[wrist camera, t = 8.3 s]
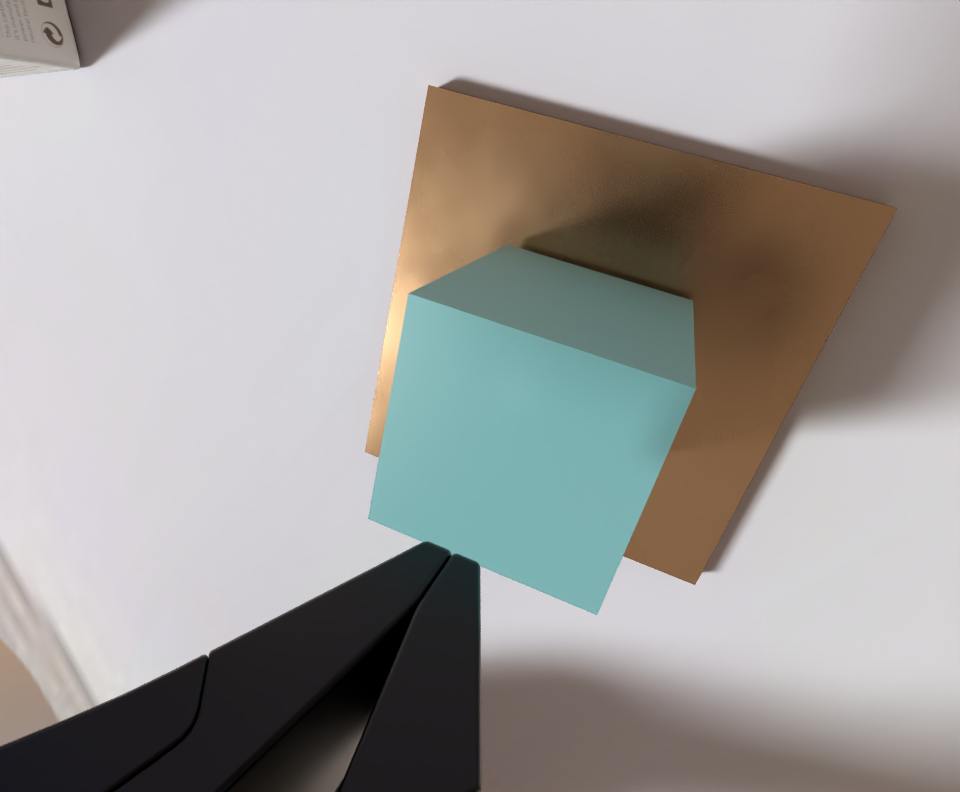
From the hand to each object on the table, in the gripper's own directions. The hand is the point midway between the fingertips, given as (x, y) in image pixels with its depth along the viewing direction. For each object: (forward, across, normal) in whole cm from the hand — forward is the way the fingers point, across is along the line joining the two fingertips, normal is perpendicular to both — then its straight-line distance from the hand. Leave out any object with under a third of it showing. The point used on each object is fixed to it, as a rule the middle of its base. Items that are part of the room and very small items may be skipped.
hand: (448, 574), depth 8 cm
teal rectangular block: (+10, 0, 0) cm, 10 cm away
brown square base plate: (+11, 0, 0) cm, 11 cm away
